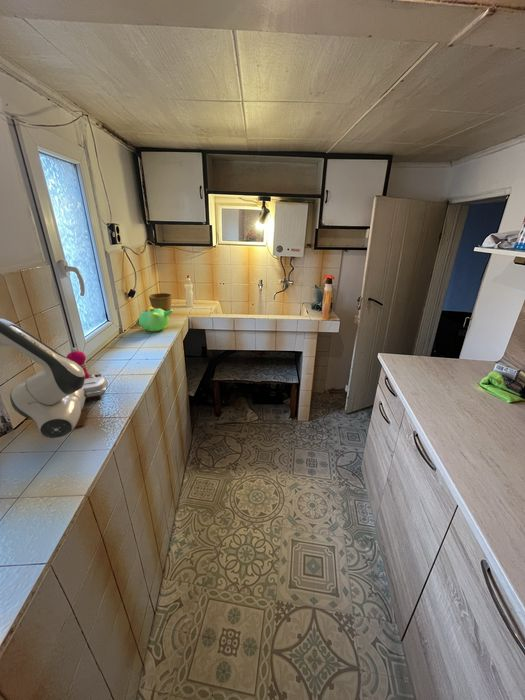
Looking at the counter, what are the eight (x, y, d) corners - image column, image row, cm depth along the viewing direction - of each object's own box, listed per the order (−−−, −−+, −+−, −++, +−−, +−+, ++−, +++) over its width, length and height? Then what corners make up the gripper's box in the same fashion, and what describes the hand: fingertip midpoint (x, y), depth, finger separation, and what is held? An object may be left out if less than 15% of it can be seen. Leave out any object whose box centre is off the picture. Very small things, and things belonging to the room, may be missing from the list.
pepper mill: (83, 402, 105) (68, 353, 97) (72, 396, 108) (56, 349, 100) (101, 392, 111) (88, 346, 103) (90, 387, 114) (77, 342, 106)
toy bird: (157, 324, 187) (153, 302, 181) (176, 327, 180) (173, 305, 174) (135, 332, 172) (130, 309, 166) (155, 337, 165) (151, 313, 159)
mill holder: (100, 399, 107) (97, 386, 105) (68, 405, 103) (64, 392, 101) (104, 385, 116) (100, 373, 114) (74, 390, 112) (70, 378, 110)
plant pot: (153, 322, 190) (149, 298, 184) (151, 315, 203) (148, 294, 196) (175, 319, 196) (172, 296, 189) (173, 313, 208) (170, 292, 202)
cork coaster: (47, 433, 89) (46, 432, 89) (55, 415, 98) (55, 414, 98) (83, 426, 93) (82, 424, 92) (88, 409, 101) (87, 407, 101)
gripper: (103, 384, 92) (107, 365, 104) (27, 396, 85) (41, 375, 97) (107, 400, 94) (111, 380, 106) (34, 413, 88) (47, 391, 99)
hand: (77, 378), depth 102 cm, fingers open, 8 cm apart
